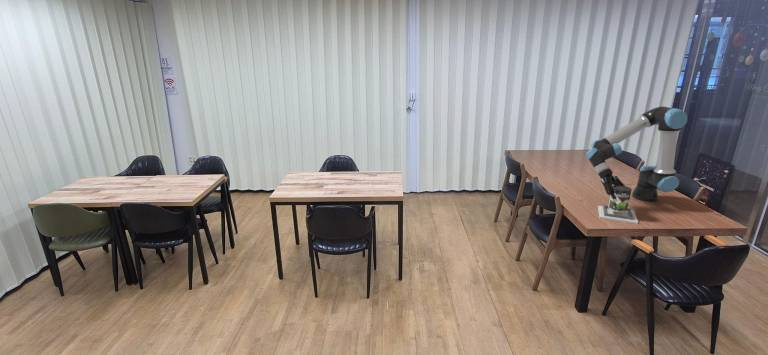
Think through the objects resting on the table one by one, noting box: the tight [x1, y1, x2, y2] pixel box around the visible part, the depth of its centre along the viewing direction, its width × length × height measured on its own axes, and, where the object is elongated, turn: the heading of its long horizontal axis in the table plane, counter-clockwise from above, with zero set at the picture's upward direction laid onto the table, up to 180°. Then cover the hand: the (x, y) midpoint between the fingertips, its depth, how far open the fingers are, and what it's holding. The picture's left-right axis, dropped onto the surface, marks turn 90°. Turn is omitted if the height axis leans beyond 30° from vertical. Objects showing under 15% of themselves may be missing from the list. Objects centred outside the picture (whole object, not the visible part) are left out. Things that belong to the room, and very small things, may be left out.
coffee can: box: [607, 185, 633, 212], centre depth 224 cm, size 10×10×14 cm
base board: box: [597, 205, 639, 225], centre depth 227 cm, size 20×20×2 cm
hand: (624, 201), depth 222 cm, fingers closed on coffee can, 10 cm apart
